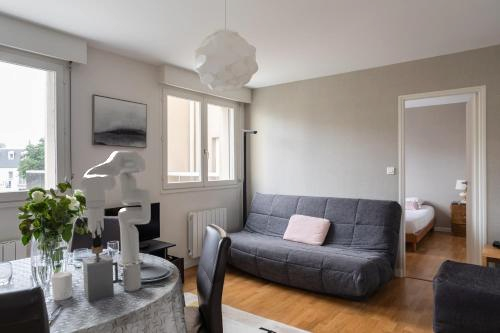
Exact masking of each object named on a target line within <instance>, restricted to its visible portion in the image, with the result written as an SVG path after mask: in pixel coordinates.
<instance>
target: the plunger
mask: <svg viewBox="0 0 500 333" xmlns="http://www.w3.org/2000/svg"><path fill="white" fill-rule="evenodd" d="M103 252H104V245H101V247H96V248H94V247H93V246H92V247H91V254H93V255H95V256H96V260H99V256H100V254H102V253H103Z"/></svg>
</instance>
